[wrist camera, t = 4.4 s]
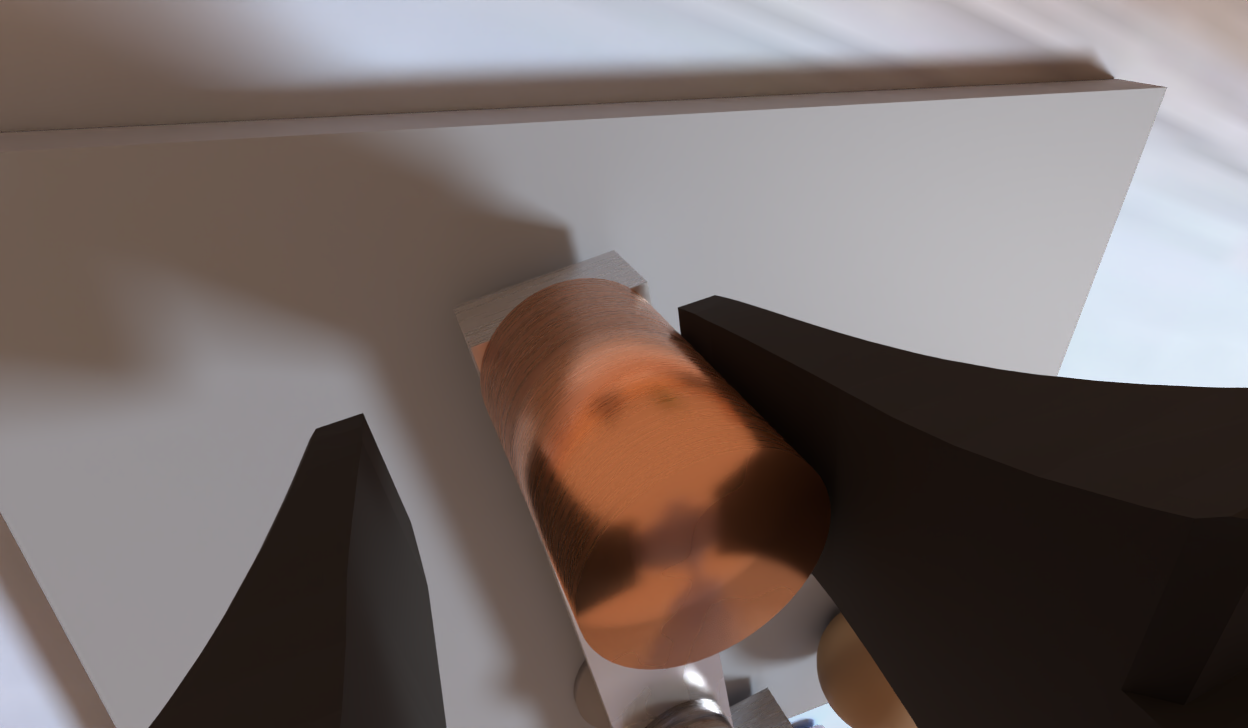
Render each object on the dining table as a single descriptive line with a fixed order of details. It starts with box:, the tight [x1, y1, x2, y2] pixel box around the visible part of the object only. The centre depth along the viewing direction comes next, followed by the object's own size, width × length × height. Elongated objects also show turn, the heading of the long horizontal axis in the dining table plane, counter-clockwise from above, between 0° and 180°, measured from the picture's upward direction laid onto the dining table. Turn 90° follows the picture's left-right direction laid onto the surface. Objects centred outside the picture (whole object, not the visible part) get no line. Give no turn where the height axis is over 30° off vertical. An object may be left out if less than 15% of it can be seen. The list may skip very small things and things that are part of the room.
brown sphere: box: [816, 612, 917, 728], centre depth 20 cm, size 4×4×4 cm
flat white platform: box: [0, 79, 1167, 728], centre depth 16 cm, size 19×23×4 cm
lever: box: [453, 250, 831, 728], centre depth 14 cm, size 18×5×6 cm, turn 11°
